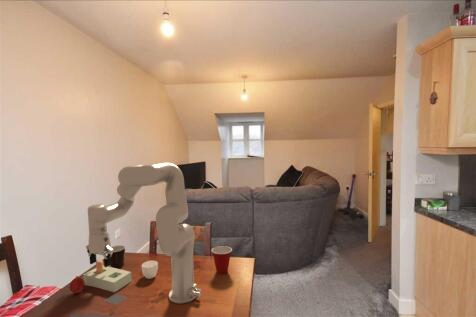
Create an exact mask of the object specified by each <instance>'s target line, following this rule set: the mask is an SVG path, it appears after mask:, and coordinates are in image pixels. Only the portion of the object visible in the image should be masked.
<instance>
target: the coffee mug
mask: <svg viewBox="0 0 476 317" xmlns="http://www.w3.org/2000/svg"><path fill="white" fill-rule="evenodd" d="M111 248H112V249H113V253H112V256H111V257H110V259H111V265H110V267H112V268H116V269H121V268H123V267H124V265H125V256H126V255H125V254H126V246H125V245H121V244H119V245H113V246H111Z"/></svg>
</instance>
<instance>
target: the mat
mask: <svg viewBox="0 0 476 317" xmlns="http://www.w3.org/2000/svg"><path fill="white" fill-rule="evenodd" d="M128 298H129V297H128V296H126V295H122V294H118V293H116V292H113V294H111V295H109V297H107V298H105V299H104V300H103V302H104V303H107V304H111V305H114V306H118V305H120V304H121V303H123V302H124V301H125V300H127V299H128Z"/></svg>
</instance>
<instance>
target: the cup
mask: <svg viewBox="0 0 476 317" xmlns="http://www.w3.org/2000/svg"><path fill="white" fill-rule="evenodd" d="M158 269H159V262H158V261H156V260H147V261H145V262H143V263H142V264H141V271H142V272H141V273H142V275H143V276H144V278H145V279H153V278H155V276H156V275H157V273H158V271H159V270H158Z"/></svg>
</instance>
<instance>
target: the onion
mask: <svg viewBox="0 0 476 317" xmlns="http://www.w3.org/2000/svg"><path fill="white" fill-rule="evenodd" d="M85 286H86V285H85V282H84V278H81V277H79V275H76V276H75V278H73V279H72V281H70V283H69V287H68V288H69V291H70V292H72V293H73V294H79V293H80V292H81V291H82V290H84V288H85Z"/></svg>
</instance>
